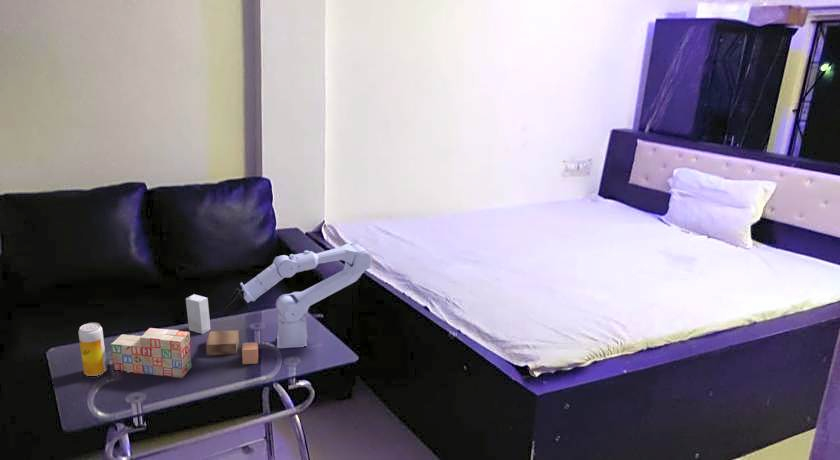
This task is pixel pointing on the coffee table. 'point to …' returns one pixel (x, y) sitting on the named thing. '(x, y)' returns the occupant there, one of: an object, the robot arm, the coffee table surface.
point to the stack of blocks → (154, 353)
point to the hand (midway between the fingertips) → (225, 310)
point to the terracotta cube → (250, 353)
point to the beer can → (92, 349)
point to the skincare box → (198, 313)
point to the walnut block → (222, 342)
